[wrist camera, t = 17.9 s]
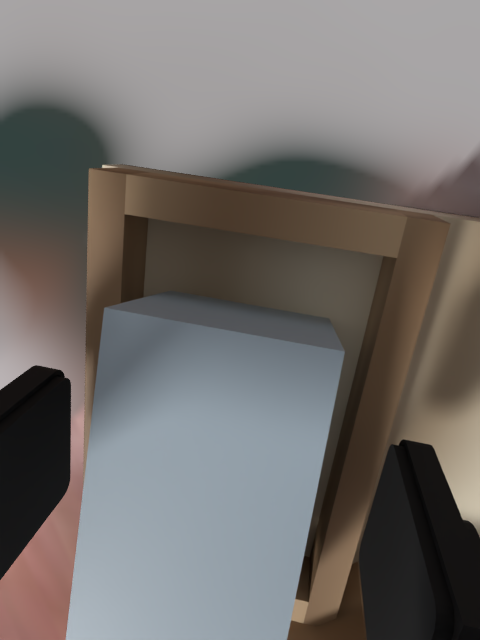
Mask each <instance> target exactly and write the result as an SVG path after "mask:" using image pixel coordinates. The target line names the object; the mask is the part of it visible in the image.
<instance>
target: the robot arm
mask: <svg viewBox="0 0 480 640" xmlns="http://www.w3.org/2000/svg"><path fill="white" fill-rule="evenodd" d="M70 437H71V383H70V380H69V379H68V378H65V376H64V373H63V372H62V371H61V370H57V369H52V368H47V367H42V366H33V367H31V368H30V369H29V370H27V371H26V372H24V373H23V374H22V375H20V376H19V377H18V378H16V379H15V380H13V381H12V382H11V383H9V384H8V385H7V386H5V387H4V388H2V389H1V390H0V580H1V578H2V577H3V576H4V574H5V573H6V572H7V571H8V569H9V568H10V567H11V565H12V564H13V563H14V561H15V560H16V559H17V557H18V556H19V555H20V553H21V552H22V551H23V549H24V548H25V547H26V545H27V544H28V543H29V541H30V540H31V539H32V537H33V536H34V535H35V533H36V532H37V531H38V529H39V528H40V527H41V525H42V524H43V523H44V521H45V520H46V519H47V517H48V516H49V515H50V513H51V512H52V511H53V510H54V508H55V507H56V506H57V504H58V503H59V502H60V500H61V499H62V498H63V496H64V495H65V493H66V491H67V489H68V486H69V482H70ZM359 568H360V578H361V587H362V597H363V607H364V617H365V626H366V636H367V640H480V537H479V534H478V532H477V530H476V528H475V527H474V525H473V524H472V523H471V522H469V521H467V520H463V519H462V517H461V514H460V512H459V509H458V507H457V504H456V502H455V499H454V497H453V494H452V492H451V489H450V487H449V485H448V482H447V480H446V477H445V475H444V472H443V470H442V467H441V465H440V462H439V460H438V457H437V455H436V452H435V450H434V448H433V446H432V445H430V444H425V443H420V442H415V441H410V440H405V439H403V440H401V442H400V443H399V445H394V444H391V445H390V447H389V449H388V452H387V456H386V459H385V463H384V466H383V469H382V473H381V476H380V480H379V483H378V486H377V490H376V493H375V497H374V500H373V504H372V507H371V510H370V514H369V517H368V521H367V524H366V527H365V531H364V534H363V538H362V541H361V545H360V551H359Z"/></svg>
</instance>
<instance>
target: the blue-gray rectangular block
mask: <svg viewBox="0 0 480 640" xmlns="http://www.w3.org/2000/svg"><path fill="white" fill-rule="evenodd" d="M344 354H345V351H344V349H343V347H342V344H341V342H340V340H339V338H338V336H337V334H336V332H335V330H334V328H333V325H332V323H331V321H330V319H329V318H324V317H318V316H313V315H307V314H301V313H296V312H290V311H284V310H278V309H273V308H267V307H261V306H256V305H250V304H244V303H239V302H233V301H227V300H222V299H216V298H210V297H204V296H199V295H193V294H187V293H182V292H176V291H167V292H163V293H159V294H155V295H151V296H148V297H144V298H140V299H136V300H132V301H128V302H124V303H121V304H117V305H113V306H109V307H105V308H104V314H103V323H102V332H101V340H100V349H99V358H98V366H97V375H96V383H95V392H94V401H93V409H92V418H91V427H90V435H89V444H88V452H87V461H86V470H85V478H84V487H83V496H82V504H81V513H80V521H79V530H78V539H77V547H76V556H75V565H74V573H73V582H72V590H71V599H70V608H69V616H68V625H67V634H66V640H287V637H288V632H289V627H290V622H291V617H292V612H293V607H294V602H295V597H296V592H297V588H298V583H299V578H300V573H301V568H302V563H303V558H304V553H305V548H306V543H307V538H308V533H309V528H310V523H311V518H312V513H313V508H314V503H315V498H316V493H317V488H318V483H319V478H320V473H321V468H322V463H323V458H324V453H325V448H326V443H327V438H328V433H329V428H330V424H331V419H332V414H333V409H334V404H335V399H336V394H337V389H338V384H339V379H340V374H341V369H342V364H343V359H344Z"/></svg>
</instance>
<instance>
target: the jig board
mask: <svg viewBox="0 0 480 640" xmlns="http://www.w3.org/2000/svg"><path fill="white" fill-rule="evenodd" d="M88 197H89V198H88V199H89V200H88V251H87V253H88V254H87V307H86V308H87V309H86V360H85V361H86V362H85V414H84V468H83V487H84V478H85V470H86V461H87V452H88V444H89V435H90V427H91V418H92V409H93V401H94V392H95V383H96V375H97V366H98V358H99V349H100V340H101V332H102V323H103V314H104V308H105V307H109V306H113V305H117V304H121V303H124V302H128V301H132V300H136V299H140V298H144V297H148V296H151V295H155V294H159V293H163V292H167V291H176V292H182V293H187V294H193V295H199V296H204V297H210V298H216V299H222V300H227V301H233V302H239V303H244V304H250V305H256V306H261V307H267V308H273V309H278V310H284V311H290V312H296V313H301V314H307V315H313V316H318V317H324V318H329V319H330V321H331V323H332V325H333V328H334V330H335V332H336V334H337V336H338V338H339V340H340V342H341V344H342V347H343V349H344V351H345V354H344V359H343V364H342V369H341V374H340V379H339V384H338V389H337V394H336V399H335V404H334V409H333V414H332V419H331V424H330V428H329V433H328V438H327V443H326V448H325V453H324V458H323V463H322V468H321V473H320V478H319V483H318V488H317V493H316V498H315V503H314V508H313V513H312V518H311V523H310V528H309V533H308V538H307V543H306V548H305V553H304V558H303V563H302V568H301V573H300V578H299V583H298V588H297V592H296V597H295V602H294V607H293V612H292V617H291V622H290V627H289V632H288V637H287V640H367V636H366V626H365V617H364V607H363V597H362V587H361V578H360V568H359V551H360V545H361V541H362V538H363V534H364V531H365V527H366V524H367V521H368V517H369V514H370V510H371V507H372V504H373V500H374V497H375V493H376V490H377V486H378V483H379V480H380V476H381V473H382V469H383V466H384V463H385V459H386V456H387V452H388V449H389V447H390V445H391V444H394V445H399V443H400V442H401V440H403V439H405V440H410V441H415V442H420V443H425V444H430V445H432V446H433V448H434V450H435V452H436V455H437V457H438V460H439V462H440V465H441V467H442V470H443V472H444V475H445V477H446V480H447V482H448V485H449V487H450V489H451V492H452V494H453V497H454V499H455V502H456V504H457V507H458V509H459V512H460V514H461V517H462V519H463V520H467V521H469V522H471V523H472V524H473V525H474V527H475V528H476V530H477V532H478V534H479V537H480V218H476V217H469V216H463V215H456V214H449V213H443V212H436V211H429V210H423V209H416V208H409V207H403V206H396V205H389V204H383V203H376V202H369V201H363V200H356V199H349V198H343V197H336V196H329V195H322V194H316V193H309V192H302V191H296V190H289V189H283V188H276V187H269V186H263V185H256V184H249V183H243V182H235V181H229V180H223V179H216V178H210V177H203V176H196V175H190V174H183V173H176V172H170V171H163V170H156V169H149V168H143V167H136V166H130V165H123V164H120V165H102V168H90V169H89V195H88Z"/></svg>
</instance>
